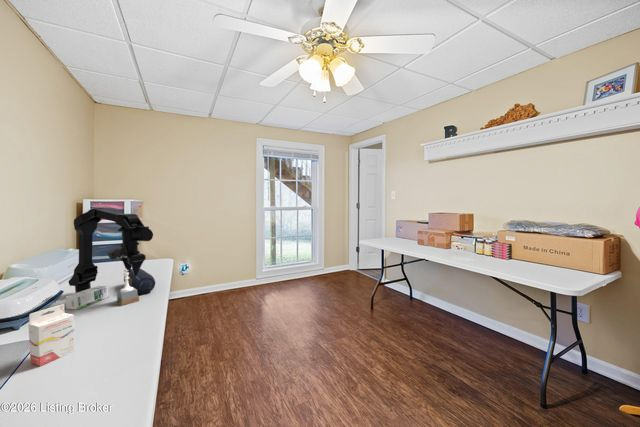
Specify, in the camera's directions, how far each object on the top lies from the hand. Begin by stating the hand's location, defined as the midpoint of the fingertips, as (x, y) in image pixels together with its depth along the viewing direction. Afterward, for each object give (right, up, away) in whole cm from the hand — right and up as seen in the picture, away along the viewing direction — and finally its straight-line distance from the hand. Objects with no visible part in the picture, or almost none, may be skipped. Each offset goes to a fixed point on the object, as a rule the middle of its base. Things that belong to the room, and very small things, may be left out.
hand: (131, 273), depth 122 cm
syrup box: (-19, -11, -10) cm, 24 cm away
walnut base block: (0, -13, -2) cm, 13 cm away
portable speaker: (-7, -12, +15) cm, 20 cm away
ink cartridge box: (+8, -15, -44) cm, 47 cm away
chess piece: (-1, -8, -2) cm, 8 cm away
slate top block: (-1, -10, -2) cm, 10 cm away
